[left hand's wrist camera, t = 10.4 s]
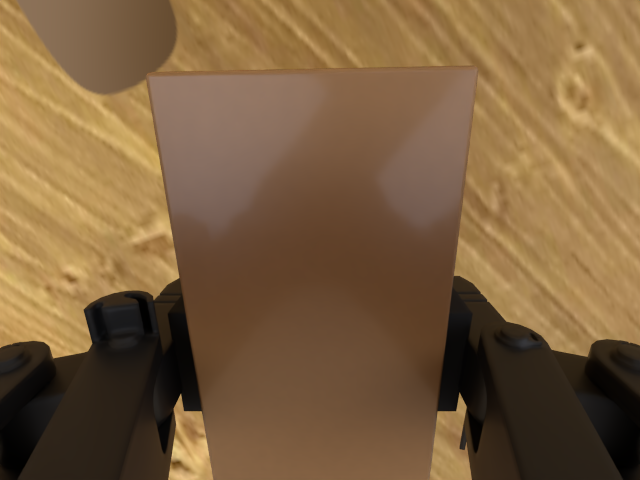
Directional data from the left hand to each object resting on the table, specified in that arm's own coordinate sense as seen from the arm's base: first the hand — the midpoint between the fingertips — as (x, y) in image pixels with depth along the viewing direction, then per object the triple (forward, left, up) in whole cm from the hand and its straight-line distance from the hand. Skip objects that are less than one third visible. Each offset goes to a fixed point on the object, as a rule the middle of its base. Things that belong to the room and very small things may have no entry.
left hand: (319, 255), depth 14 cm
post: (+23, +10, -1) cm, 26 cm away
